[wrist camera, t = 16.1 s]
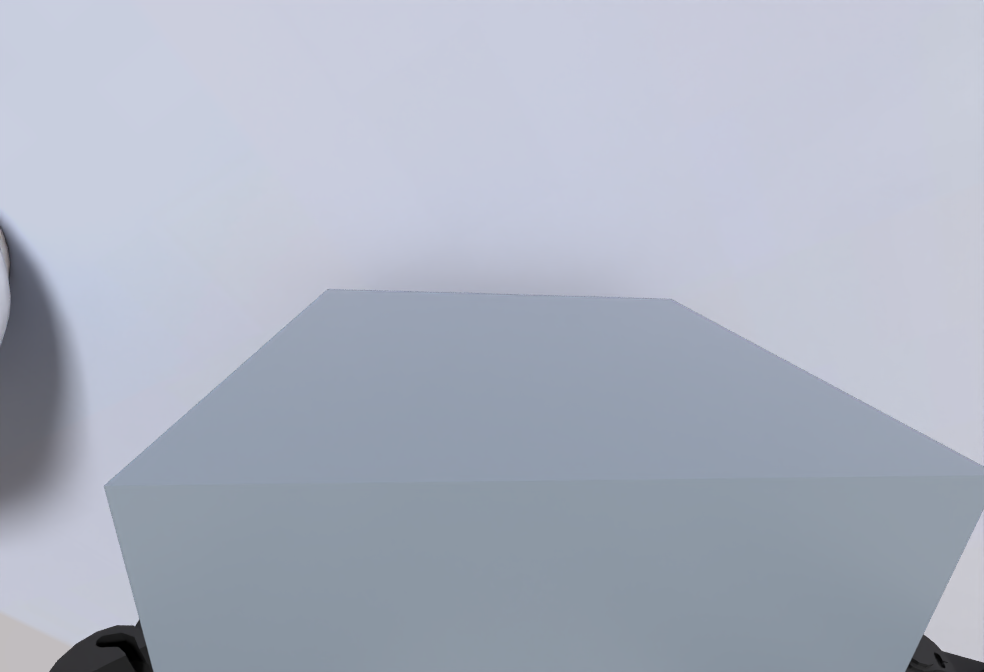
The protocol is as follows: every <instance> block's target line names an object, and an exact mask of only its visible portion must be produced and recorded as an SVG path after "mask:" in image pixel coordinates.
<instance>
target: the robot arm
mask: <svg viewBox="0 0 984 672" xmlns="http://www.w3.org/2000/svg"><path fill="white" fill-rule="evenodd" d="M50 672H154V671H153V668H152V664H151V660H150V656H149V653H148V649H147V645H146V642H145V638H144V634H143V630H142V627H141V623H140V619H139V621H138V623H137V624H136V626H125V625H117V626H113V627H110V628H107V629H104V630H101V631H98V632H96V633H94V634H92V635H91V636H89V637H87V638H85V639H84V640H82V641H80V642H79V643H77V644H76V645H74V646H73V647H72V648H71V649H70V650H69V651H68V652H67V653H66V654H64V655H63V656H62V657H61V658H60V659H59V660H58V661H57V662H56V663H55V665H54V666H53V667H52V669H51V670H50ZM905 672H984V663H983V662H979V661H976V660H972V659H968V658H965V657H961V656H958V655H954V654H950V653H947V652H943V651H941V650H940V649H939V647H938V646H937V645H936V644H935V643H934V642H933V641H931V640H930V639H929V638H927V637H926V636H925V635H923V636H922V638H921V640H920V642H919V644H918V646H917V648H916V650H915V652H914V654H913V656H912V659H911V661H910V663H909V665H908V667H907V669H906V671H905Z"/></svg>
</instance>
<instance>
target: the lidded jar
mask: <svg viewBox="0 0 984 672" xmlns="http://www.w3.org/2000/svg"><path fill="white" fill-rule="evenodd" d="M9 271H10V259H9V252H8V247H7V244H6V241H5V237H4V234H3V232H2V230H1V228H0V346H1V343H2V340H3V337H4V334H5V330H6V327H7V323H8V319H9V313H10V300H11V295H10V287H9V279H8V278H9Z"/></svg>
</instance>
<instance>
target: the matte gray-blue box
mask: <svg viewBox="0 0 984 672" xmlns="http://www.w3.org/2000/svg"><path fill="white" fill-rule="evenodd" d="M104 488H105V492H106V496H107V500H108V503H109V507H110V511H111V514H112V518H113V522H114V526H115V529H116V533H117V537H118V541H119V544H120V548H121V552H122V556H123V559H124V563H125V567H126V571H127V574H128V578H129V582H130V585H131V589H132V593H133V597H134V600H135V604H136V608H137V612H138V615H139V619H140V623H141V627H142V630H143V634H144V638H145V642H146V645H147V649H148V653H149V656H150V660H151V664H152V668H153V671H154V672H905V671H906V669H907V667H908V665H909V663H910V661H911V659H912V656H913V654H914V652H915V650H916V648H917V646H918V644H919V642H920V640H921V638H922V636H923V634H924V632H925V629H926V627H927V625H928V623H929V621H930V619H931V617H932V615H933V613H934V611H935V609H936V607H937V605H938V603H939V600H940V598H941V596H942V594H943V592H944V590H945V588H946V586H947V584H948V582H949V580H950V578H951V576H952V574H953V571H954V569H955V567H956V565H957V563H958V561H959V559H960V557H961V555H962V553H963V551H964V549H965V547H966V545H967V542H968V540H969V538H970V536H971V534H972V532H973V530H974V528H975V526H976V524H977V522H978V520H979V518H980V516H981V513H982V511H983V509H984V466H982V465H980V464H978V463H976V462H974V461H973V460H971V459H969V458H967V457H965V456H963V455H961V454H959V453H958V452H956V451H954V450H952V449H950V448H948V447H946V446H945V445H943V444H941V443H939V442H937V441H935V440H933V439H931V438H930V437H928V436H926V435H924V434H922V433H920V432H918V431H917V430H915V429H913V428H911V427H909V426H907V425H905V424H903V423H902V422H900V421H898V420H896V419H894V418H892V417H890V416H889V415H887V414H885V413H883V412H881V411H879V410H877V409H875V408H874V407H872V406H870V405H868V404H866V403H864V402H862V401H861V400H859V399H857V398H855V397H853V396H851V395H849V394H847V393H846V392H844V391H842V390H840V389H838V388H836V387H834V386H833V385H831V384H829V383H827V382H825V381H823V380H821V379H820V378H818V377H816V376H814V375H812V374H810V373H808V372H806V371H805V370H803V369H801V368H799V367H797V366H795V365H793V364H792V363H790V362H788V361H786V360H784V359H782V358H780V357H778V356H777V355H775V354H773V353H771V352H769V351H767V350H765V349H764V348H762V347H760V346H758V345H756V344H754V343H752V342H750V341H749V340H747V339H745V338H743V337H741V336H739V335H737V334H736V333H734V332H732V331H730V330H728V329H726V328H724V327H722V326H721V325H719V324H717V323H715V322H713V321H711V320H709V319H708V318H706V317H704V316H702V315H700V314H698V313H696V312H694V311H693V310H691V309H689V308H687V307H685V306H683V305H681V304H680V303H678V302H676V301H674V300H672V299H656V298H621V297H586V296H551V295H516V294H481V293H446V292H411V291H376V290H341V289H327V290H326V291H325V292H324V293H323V294H322V295H320V296H319V297H318V298H317V299H316V300H315V301H314V302H312V303H311V304H310V305H309V306H308V307H307V308H306V309H304V310H303V311H302V312H301V313H300V314H299V315H298V316H297V317H295V318H294V319H293V320H292V321H291V322H290V323H289V324H287V325H286V326H285V327H284V328H283V329H282V330H281V331H279V332H278V333H277V334H276V335H275V336H274V337H273V338H272V339H270V340H269V341H268V342H267V343H266V344H265V345H264V346H262V347H261V348H260V349H259V350H258V351H257V352H256V353H254V354H253V355H252V356H251V357H250V358H249V359H248V360H246V361H245V362H244V363H243V364H242V365H241V366H240V367H239V368H237V369H236V370H235V371H234V372H233V373H232V374H231V375H229V376H228V377H227V378H226V379H225V380H224V381H223V382H221V383H220V384H219V385H218V386H217V387H216V388H215V389H214V390H212V391H211V392H210V393H209V394H208V395H207V396H206V397H204V398H203V399H202V400H201V401H200V402H199V403H198V404H196V405H195V406H194V407H193V408H192V409H191V410H190V411H188V412H187V413H186V414H185V415H184V416H183V417H182V418H181V419H179V420H178V421H177V422H176V423H175V424H174V425H173V426H171V427H170V428H169V429H168V430H167V431H166V432H165V433H163V434H162V435H161V436H160V437H159V438H158V439H157V440H156V441H154V442H153V443H152V444H151V445H150V446H149V447H148V448H146V449H145V450H144V451H143V452H142V453H141V454H140V455H138V456H137V457H136V458H135V459H134V460H133V461H132V462H130V463H129V464H128V465H127V466H126V467H125V468H124V469H123V470H121V471H120V472H119V473H118V474H117V475H116V476H115V477H113V478H112V479H111V480H110V481H109V482H108V483H107V484H105V485H104Z"/></svg>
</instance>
